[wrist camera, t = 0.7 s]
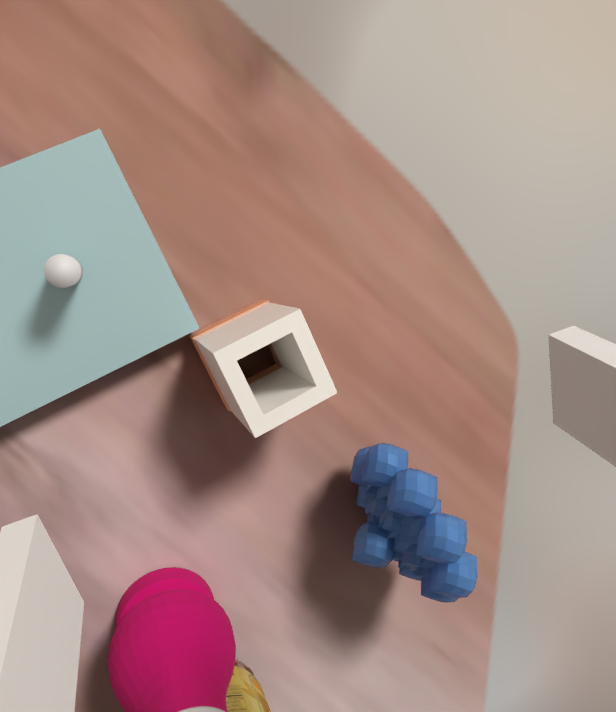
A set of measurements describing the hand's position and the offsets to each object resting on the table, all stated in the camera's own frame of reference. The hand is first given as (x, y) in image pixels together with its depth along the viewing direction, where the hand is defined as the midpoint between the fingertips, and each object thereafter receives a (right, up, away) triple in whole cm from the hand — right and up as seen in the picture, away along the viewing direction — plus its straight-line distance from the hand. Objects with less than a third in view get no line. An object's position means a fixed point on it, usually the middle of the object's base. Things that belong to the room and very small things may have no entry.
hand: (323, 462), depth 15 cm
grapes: (+3, -7, +28) cm, 29 cm away
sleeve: (-4, +3, +23) cm, 24 cm away
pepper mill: (-10, -14, +24) cm, 30 cm away
